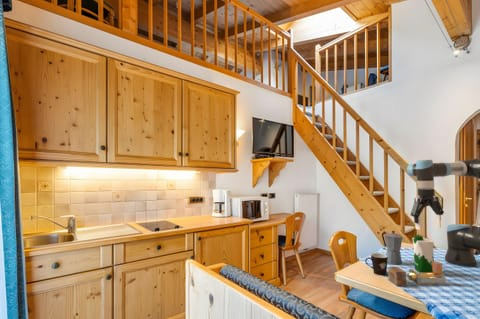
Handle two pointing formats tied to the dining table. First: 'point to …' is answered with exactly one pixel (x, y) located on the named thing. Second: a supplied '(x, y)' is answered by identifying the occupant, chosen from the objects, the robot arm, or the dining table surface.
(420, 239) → the milk carton
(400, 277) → the brown wooden block
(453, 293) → the dining table surface
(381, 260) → the coffee mug
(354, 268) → the dining table surface
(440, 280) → the sliding bolt latch
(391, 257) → the moka pot
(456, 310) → the dining table surface
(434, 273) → the gold piece
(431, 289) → the dining table surface
